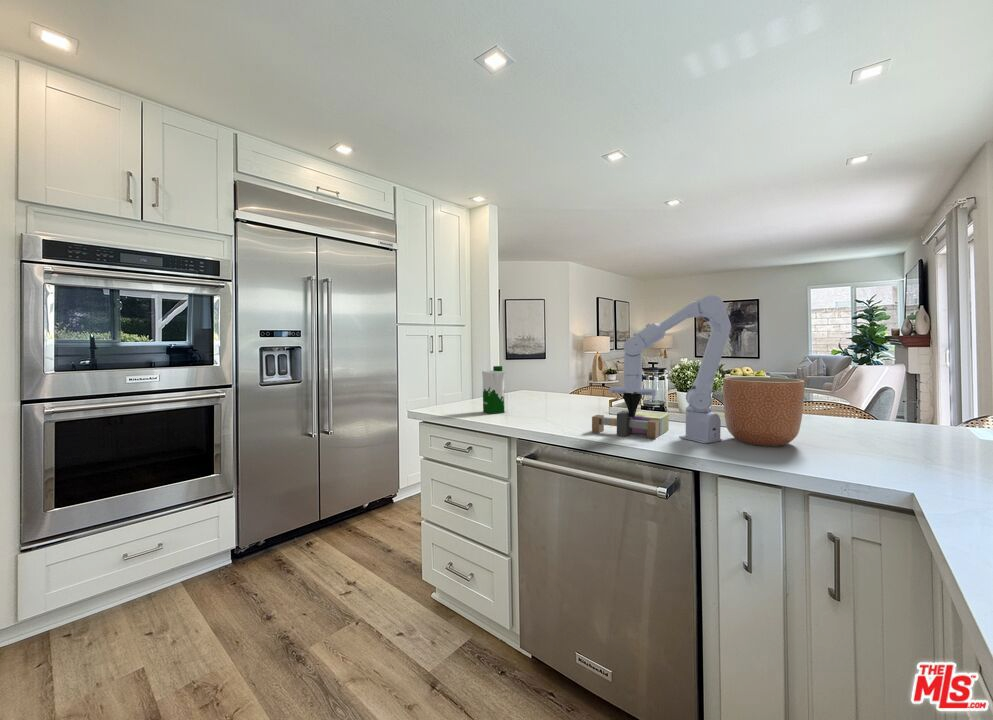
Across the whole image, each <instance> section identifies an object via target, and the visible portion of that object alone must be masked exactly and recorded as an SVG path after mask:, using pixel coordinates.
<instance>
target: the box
mask: <svg viewBox="0 0 993 720" xmlns="http://www.w3.org/2000/svg"><path fill="white" fill-rule="evenodd" d="M669 415H670V414H669V413H660V412H650V411H640V410H639V411H636V413H635V417H632V420H641V421H650V420H651V419H652V420H659V436H662V434H664V433H666V432H667V431H668V430H669V429H670V428H669V426H670V425H669V424H670V422H669V420H670V418H669V417H670V416H669ZM631 433H633V434H642V435H647V429H640V428H632V432H631Z"/></svg>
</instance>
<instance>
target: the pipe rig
mask: <svg viewBox="0 0 993 720" xmlns="http://www.w3.org/2000/svg"><path fill="white" fill-rule="evenodd" d="M604 426H611V427H617V417H605V416H604V414H603V415H602V414H595V415H593V416H591V433H593V434H600V432H601V433H602V432H604V430H605V427H604ZM628 427H630V428H640V429H647V434H646V437H647V438H649V440H657V439H658V438H659V420H652V419H651V420H650V421H641V420H630V419H628ZM657 437H658V438H657ZM656 438H657V439H656Z"/></svg>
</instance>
